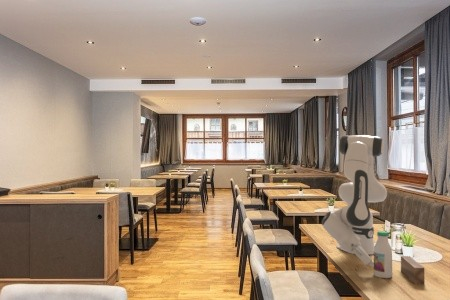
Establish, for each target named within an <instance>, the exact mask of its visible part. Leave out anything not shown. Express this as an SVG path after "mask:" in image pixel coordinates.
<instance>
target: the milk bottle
mask: <svg viewBox="0 0 450 300" xmlns="http://www.w3.org/2000/svg"><path fill="white" fill-rule="evenodd" d="M376 235H377V240H376V242H375V243H374V245H375V247H374V254H373V263H374V266H373V275H374V277H377V278H379V279H391V278H392V277H393V249H392V247H391V244H390V242H389V240H388V239H389V232H388V231H384V230H379V231H377V232H376Z"/></svg>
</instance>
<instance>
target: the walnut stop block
mask: <svg viewBox="0 0 450 300" xmlns="http://www.w3.org/2000/svg"><path fill="white" fill-rule="evenodd" d="M400 271H401V273H402V274H403V275H405V276H406V278H408V279H409V280H410V282H412V283H413V284H414V285H425V267H423V265H421V263H419V262H417V261H416V260H415V259H414V258H413V257H412V256H410V255H409V256H408V255H400Z"/></svg>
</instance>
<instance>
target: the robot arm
mask: <svg viewBox="0 0 450 300" xmlns="http://www.w3.org/2000/svg"><path fill="white" fill-rule="evenodd" d="M337 146H338V150H339V153H340V154H342V155H344V156H345V157H344V162H343V175H344V176H345V178H346V179H347V180H349V182H344V183H342V184H340V186H339V187H338V190H337V192H338V193H337V194H338V196H339V198H340V200H341V201H343V202H344V203H345V204H346V206H343V207H340V208H339V209H336V210H334V211H333V210H332V211H328V212H327V213H326V214H324V216H323V218H322V219H321V225H322V228H323V229H324V231H326V233H327V234H328V235H329V236H330V237H331V238H332V239H334V240H335V241H336V243H337V244H336V249H338V250H342V251H343V252H345V253H348V254H351V255H355V256H356V257H357V258H358V259H359V260H360V261H361V262H362V263H363V264H364V265H366V266H368V265H369V266H370V267H374V261H373V259H372V258H371V256H370V255H374V247H375V239H374V233H375V232H374V231H375V228H374V218H373V217H374V215H373V213H372V211H371V210H370V208H369V203H380V202H384V201H385V200H386V199H387V196H388V191H387V187H385V185H384V184H382V183H381V182H379V180H378V179H377V177H376V175H375V171H374V169H375V167H374V163H375V162H374V159H375V158H374V157H380V156H381V155H382V154H383V152H384V149H385V142H384V140H383V138H382V137H380V136H377V135H375V136H372V135H368V134H367V135H366V134H361V135H360V134H359V135H357V134H355V135H348V134H346V135H342V137H340V138H339V141H338V145H337Z"/></svg>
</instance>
